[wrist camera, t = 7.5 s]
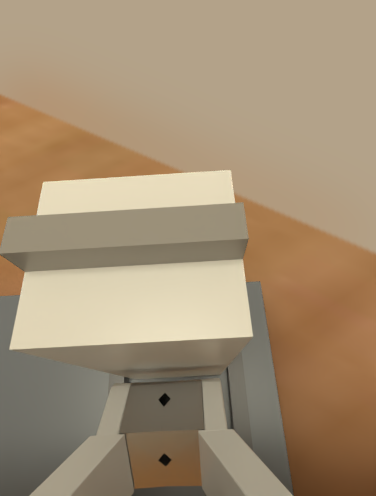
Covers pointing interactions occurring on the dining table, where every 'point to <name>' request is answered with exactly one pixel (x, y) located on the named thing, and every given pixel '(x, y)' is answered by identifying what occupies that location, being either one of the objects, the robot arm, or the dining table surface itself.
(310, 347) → the dining table surface
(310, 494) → the dining table surface
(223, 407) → the robot arm
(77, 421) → the grey rectangular board
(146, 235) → the tab
